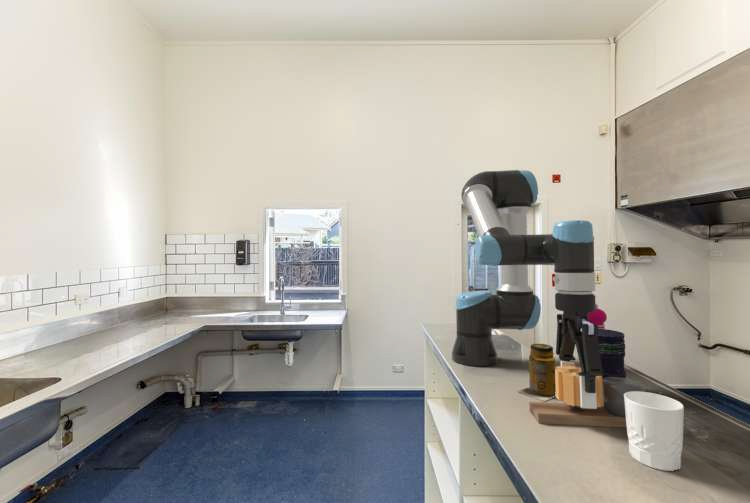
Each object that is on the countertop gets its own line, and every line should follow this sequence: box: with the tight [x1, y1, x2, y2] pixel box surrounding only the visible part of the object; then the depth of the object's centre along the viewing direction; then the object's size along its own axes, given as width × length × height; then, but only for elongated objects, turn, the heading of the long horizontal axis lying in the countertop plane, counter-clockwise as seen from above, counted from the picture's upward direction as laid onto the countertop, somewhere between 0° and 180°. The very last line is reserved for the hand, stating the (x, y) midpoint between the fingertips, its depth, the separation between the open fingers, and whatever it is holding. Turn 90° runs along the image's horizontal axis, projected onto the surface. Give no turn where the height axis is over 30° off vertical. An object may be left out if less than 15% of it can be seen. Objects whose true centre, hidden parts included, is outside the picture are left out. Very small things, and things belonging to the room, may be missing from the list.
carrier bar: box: [528, 401, 627, 429], centre depth 72 cm, size 6×22×2 cm, turn 82°
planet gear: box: [555, 365, 603, 407], centre depth 72 cm, size 9×9×6 cm
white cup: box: [624, 391, 685, 472], centre depth 57 cm, size 8×8×10 cm
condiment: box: [517, 343, 556, 402], centre depth 87 cm, size 7×8×12 cm
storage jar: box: [598, 328, 627, 386], centre depth 88 cm, size 10×10×15 cm
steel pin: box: [572, 371, 583, 411], centre depth 72 cm, size 2×2×8 cm
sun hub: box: [603, 377, 645, 418], centre depth 71 cm, size 7×7×6 cm
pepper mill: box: [588, 303, 608, 329], centre depth 107 cm, size 7×7×20 cm
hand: (577, 398), depth 72 cm, fingers closed on planet gear, 9 cm apart
